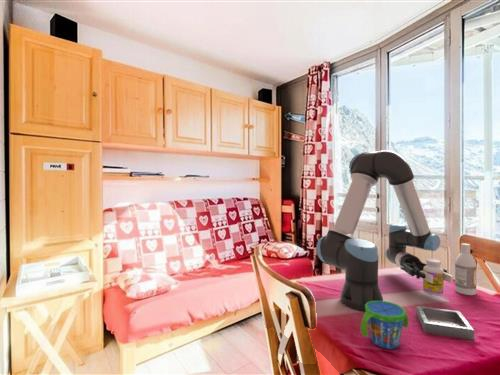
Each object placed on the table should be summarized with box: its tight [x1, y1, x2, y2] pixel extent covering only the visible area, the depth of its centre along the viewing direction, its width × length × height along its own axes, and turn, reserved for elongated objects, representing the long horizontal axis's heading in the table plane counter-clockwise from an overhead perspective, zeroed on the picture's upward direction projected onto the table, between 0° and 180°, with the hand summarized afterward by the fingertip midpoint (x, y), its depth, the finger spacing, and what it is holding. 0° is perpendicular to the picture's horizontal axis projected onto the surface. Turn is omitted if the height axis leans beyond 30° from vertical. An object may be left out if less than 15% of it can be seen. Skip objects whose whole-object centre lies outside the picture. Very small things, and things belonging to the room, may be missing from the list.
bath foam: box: [454, 242, 477, 296], centre depth 115 cm, size 7×7×20 cm
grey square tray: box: [416, 305, 475, 341], centre depth 89 cm, size 12×12×3 cm
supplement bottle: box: [422, 258, 445, 297], centre depth 109 cm, size 7×7×13 cm
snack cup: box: [359, 300, 409, 350], centre depth 81 cm, size 16×10×10 cm
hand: (441, 279), depth 104 cm, fingers closed on supplement bottle, 7 cm apart
